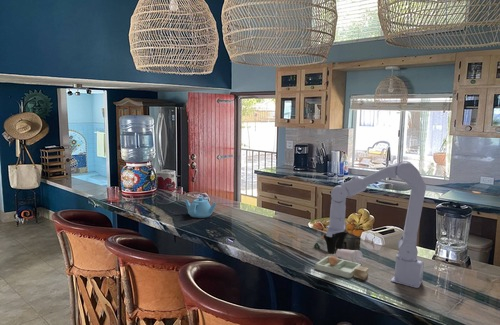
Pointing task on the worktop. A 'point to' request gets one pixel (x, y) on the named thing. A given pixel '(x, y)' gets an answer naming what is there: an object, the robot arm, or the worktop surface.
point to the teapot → (200, 208)
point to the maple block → (361, 272)
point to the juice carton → (349, 243)
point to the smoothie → (350, 255)
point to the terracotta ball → (332, 260)
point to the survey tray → (337, 267)
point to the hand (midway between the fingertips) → (334, 251)
